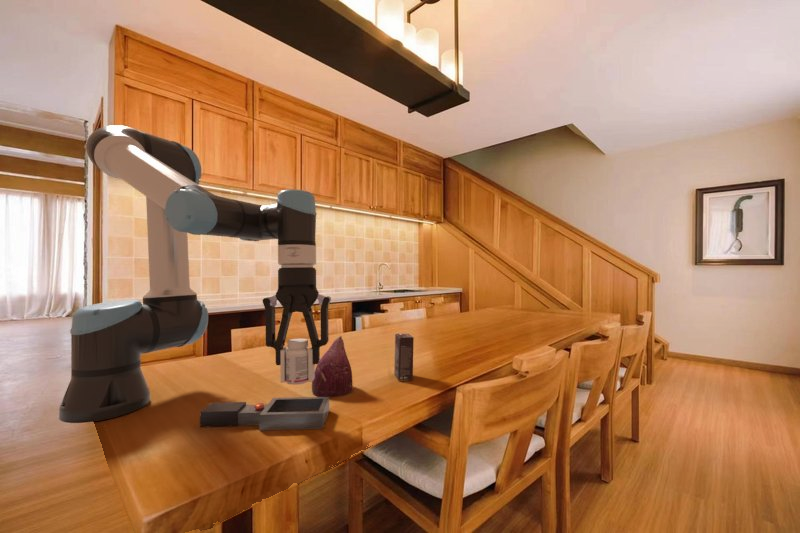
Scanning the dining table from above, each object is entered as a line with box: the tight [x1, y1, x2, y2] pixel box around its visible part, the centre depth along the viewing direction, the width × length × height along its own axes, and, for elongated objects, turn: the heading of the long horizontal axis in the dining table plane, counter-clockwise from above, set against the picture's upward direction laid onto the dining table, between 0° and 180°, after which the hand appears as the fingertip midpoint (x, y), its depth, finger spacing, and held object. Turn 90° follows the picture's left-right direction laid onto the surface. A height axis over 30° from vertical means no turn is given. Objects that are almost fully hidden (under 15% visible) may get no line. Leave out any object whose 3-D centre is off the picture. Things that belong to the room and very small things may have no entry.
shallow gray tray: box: [199, 396, 330, 431], centre depth 70 cm, size 24×8×3 cm, turn 94°
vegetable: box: [311, 335, 354, 398], centre depth 89 cm, size 10×10×15 cm
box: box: [393, 333, 414, 382], centre depth 97 cm, size 6×4×12 cm
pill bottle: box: [285, 338, 309, 386], centre depth 70 cm, size 5×5×8 cm
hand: (298, 380), depth 70 cm, fingers closed on pill bottle, 5 cm apart
